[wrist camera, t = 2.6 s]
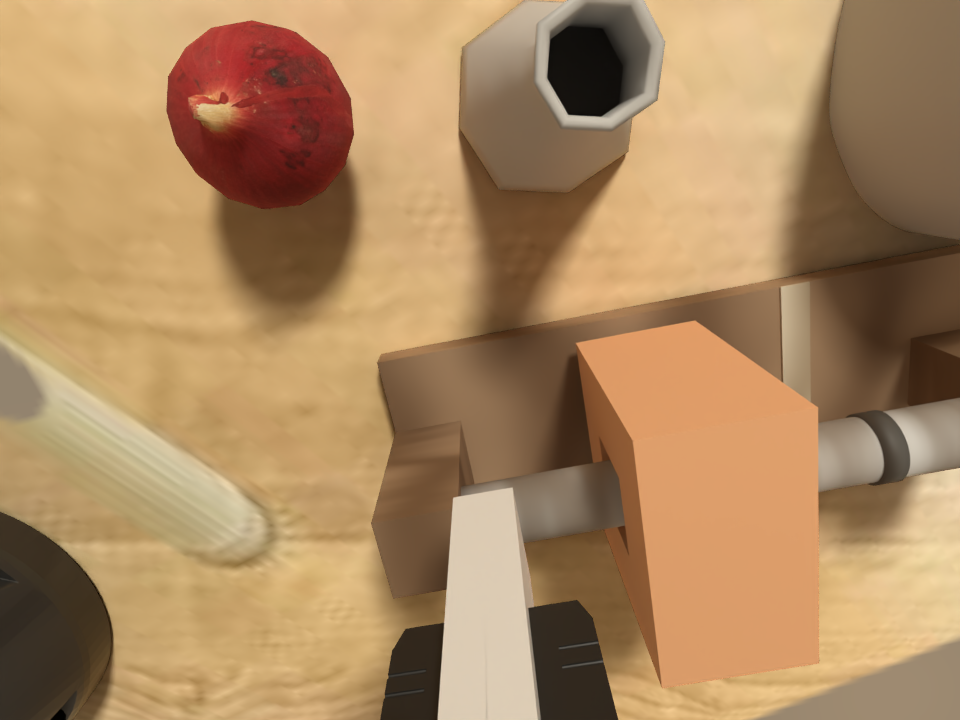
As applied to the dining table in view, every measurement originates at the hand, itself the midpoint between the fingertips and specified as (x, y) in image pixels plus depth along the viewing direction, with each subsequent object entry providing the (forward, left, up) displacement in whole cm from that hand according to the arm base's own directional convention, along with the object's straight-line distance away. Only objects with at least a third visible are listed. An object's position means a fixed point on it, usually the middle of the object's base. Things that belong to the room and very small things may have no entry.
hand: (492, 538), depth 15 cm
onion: (-5, +12, -13) cm, 18 cm away
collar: (+7, -3, -11) cm, 13 cm away
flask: (+5, +11, -13) cm, 17 cm away
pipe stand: (+9, -3, -13) cm, 16 cm away
